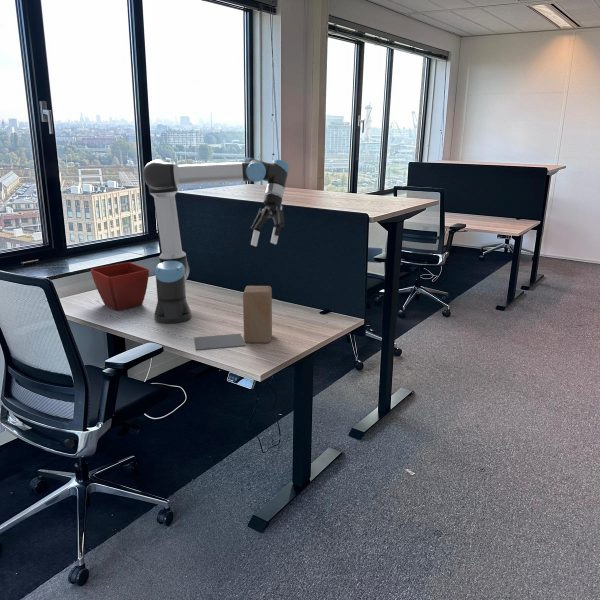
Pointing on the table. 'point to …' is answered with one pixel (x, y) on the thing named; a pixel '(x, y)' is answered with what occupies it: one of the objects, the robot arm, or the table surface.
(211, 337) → the mat
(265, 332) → the block
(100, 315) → the table surface
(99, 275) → the plant pot
